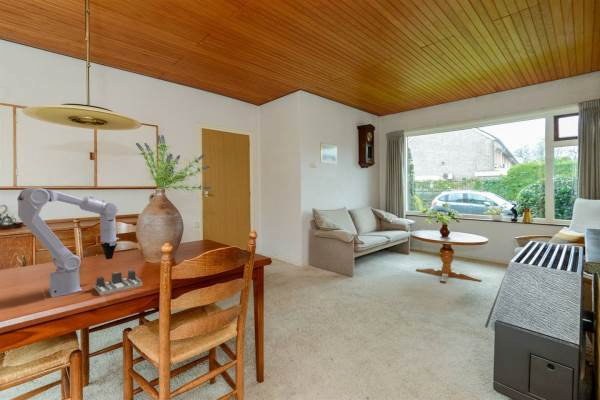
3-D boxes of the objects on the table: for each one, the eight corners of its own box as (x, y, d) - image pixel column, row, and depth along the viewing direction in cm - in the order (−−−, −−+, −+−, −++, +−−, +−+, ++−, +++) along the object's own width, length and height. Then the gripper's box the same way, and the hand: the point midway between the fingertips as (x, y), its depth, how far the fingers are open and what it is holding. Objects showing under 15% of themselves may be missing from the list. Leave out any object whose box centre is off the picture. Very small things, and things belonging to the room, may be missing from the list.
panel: (100, 295, 109) (100, 283, 109) (94, 288, 117) (93, 276, 117) (142, 285, 120) (142, 274, 120) (133, 279, 128) (133, 269, 128)
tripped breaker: (113, 283, 118) (113, 273, 118) (111, 281, 120) (111, 272, 120) (121, 281, 120) (121, 272, 120) (119, 280, 122) (119, 270, 122)
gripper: (123, 230, 123) (123, 260, 124) (114, 226, 133) (115, 254, 134) (104, 232, 118) (105, 263, 119) (96, 228, 128) (97, 257, 129)
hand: (109, 258), depth 126 cm, fingers closed
